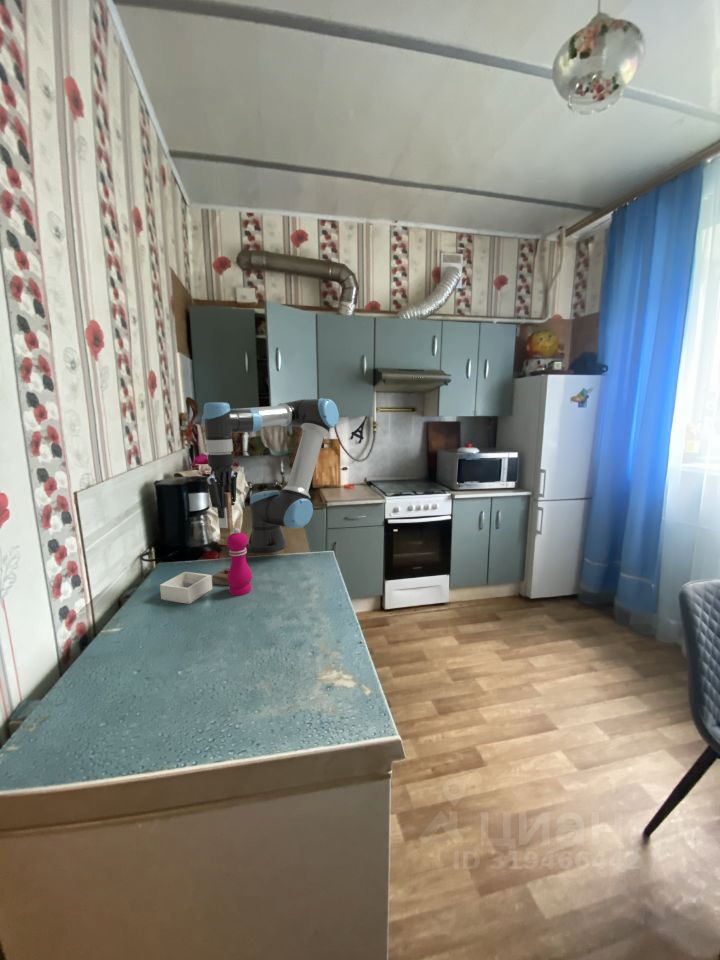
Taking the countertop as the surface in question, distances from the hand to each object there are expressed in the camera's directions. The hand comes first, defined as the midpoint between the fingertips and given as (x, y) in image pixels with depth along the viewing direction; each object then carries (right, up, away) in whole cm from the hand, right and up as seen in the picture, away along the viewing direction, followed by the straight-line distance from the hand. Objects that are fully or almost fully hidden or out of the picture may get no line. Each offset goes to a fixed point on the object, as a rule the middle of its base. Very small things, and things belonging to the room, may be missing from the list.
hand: (226, 526), depth 119 cm
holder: (0, -18, +3) cm, 18 cm away
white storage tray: (-9, -20, -7) cm, 23 cm away
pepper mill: (+6, -19, -5) cm, 21 cm away
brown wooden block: (0, -4, +1) cm, 4 cm away
